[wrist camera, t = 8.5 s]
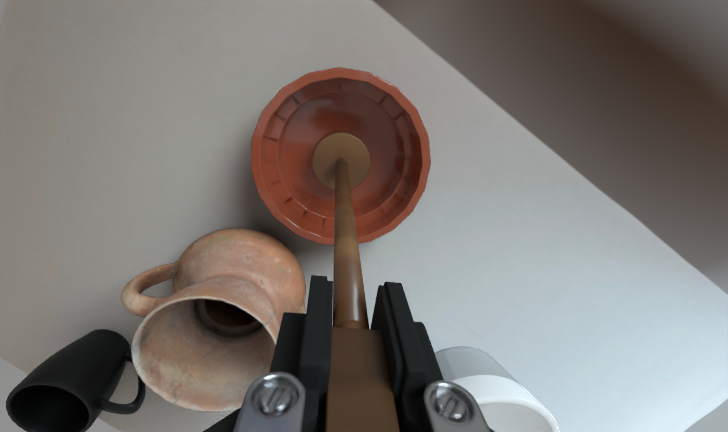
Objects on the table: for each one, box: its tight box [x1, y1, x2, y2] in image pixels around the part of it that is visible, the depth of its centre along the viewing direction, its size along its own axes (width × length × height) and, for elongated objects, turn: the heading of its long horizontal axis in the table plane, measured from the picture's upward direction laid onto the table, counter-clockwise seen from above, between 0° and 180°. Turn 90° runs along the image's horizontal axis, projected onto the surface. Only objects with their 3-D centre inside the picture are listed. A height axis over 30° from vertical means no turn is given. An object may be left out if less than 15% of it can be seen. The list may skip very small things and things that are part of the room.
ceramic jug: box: [121, 228, 306, 412], centre depth 35 cm, size 18×14×14 cm
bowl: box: [435, 347, 560, 432], centre depth 46 cm, size 19×19×11 cm
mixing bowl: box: [251, 68, 431, 245], centre depth 35 cm, size 17×17×6 cm
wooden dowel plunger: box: [312, 131, 400, 432], centre depth 22 cm, size 6×6×32 cm
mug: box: [6, 330, 146, 432], centre depth 40 cm, size 8×12×10 cm
